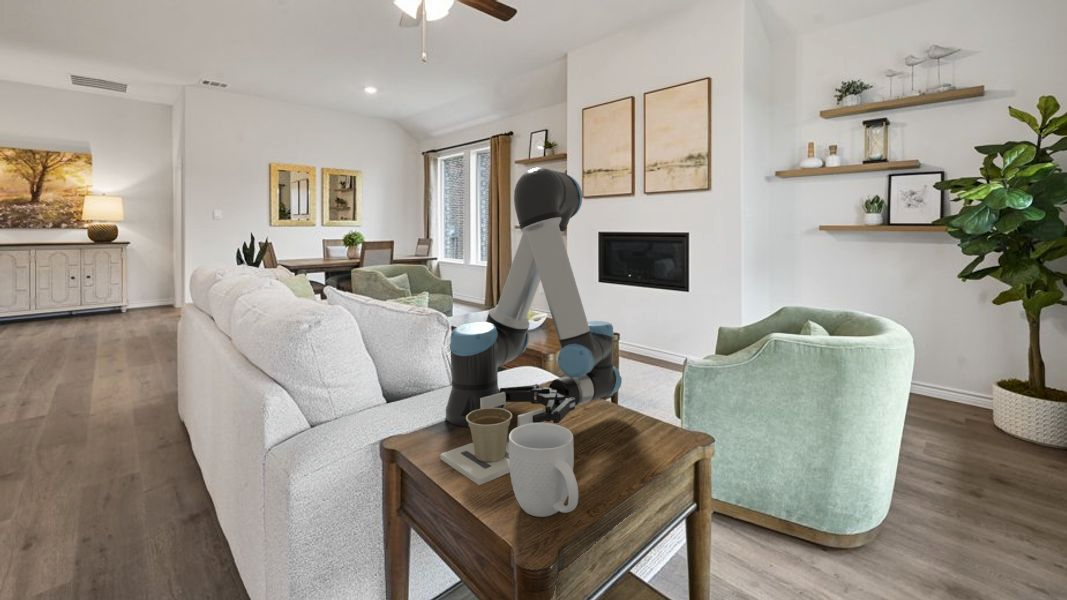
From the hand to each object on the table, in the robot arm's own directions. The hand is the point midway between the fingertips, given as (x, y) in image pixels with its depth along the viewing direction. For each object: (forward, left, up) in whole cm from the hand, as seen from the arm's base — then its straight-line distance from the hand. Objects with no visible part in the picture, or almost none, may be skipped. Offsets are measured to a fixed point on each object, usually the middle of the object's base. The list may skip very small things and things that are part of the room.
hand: (498, 413), depth 104 cm
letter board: (+2, -5, -8) cm, 10 cm away
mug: (+23, -8, -9) cm, 26 cm away
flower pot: (+3, -4, -7) cm, 9 cm away
